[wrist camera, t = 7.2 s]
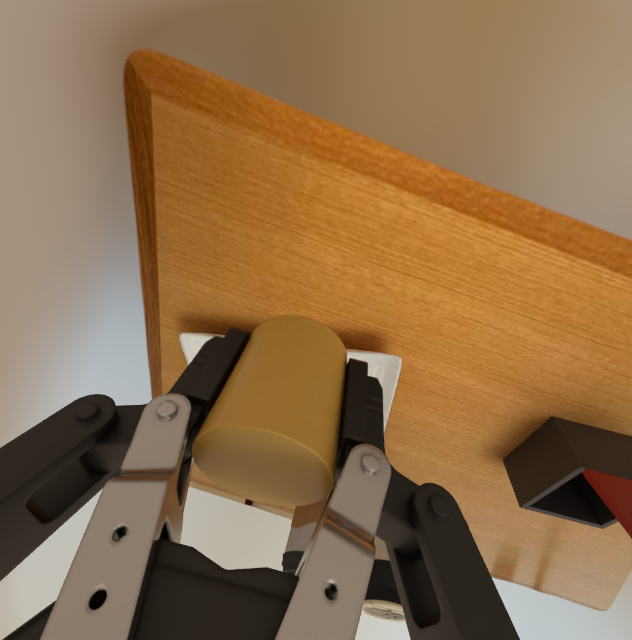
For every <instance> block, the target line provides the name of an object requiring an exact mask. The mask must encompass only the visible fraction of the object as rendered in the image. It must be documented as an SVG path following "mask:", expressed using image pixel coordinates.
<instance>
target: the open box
mask: <svg viewBox="0 0 632 640" xmlns="http://www.w3.org/2000/svg"><path fill="white" fill-rule="evenodd" d="M503 462H504V465H505V468H506V471H507V473H508V476H509V479H510V481H511V484H512V487H513V490H514V492H515V495H516V498H517V501H518V503H519V506H520V507H521V508H524V509H528V510H532V511H536V512H540V513H544V514H547V515H551V516H555V517H559V518H563V519H567V520H571V521H574V522H578V523H582V524H586V525H590V526H594V527H598V528H602V529H604V528H606V527H608V526H610V525H612V524H614V523H616V522H619V521H618V520H617V518H616V517H615V516H614V514H613V513H612V512H611V511H610V509H609V508H608V507H607V505H606V504H605V503H604V501H603V500H602V499H601V497H600V496H599V495H598V493H597V492H596V491H595V490H594V488H593V487H592V486H591V484H590V483H589V482H588V480H587V479H586V478H585V476H584V475H583V474H582V472H583V471H584V470H585V469H590V470H594V471H598V472H602V473H606V474H610V475H614V476H617V477H621V478H625V479H629V480H632V437H630V436H626V435H622V434H618V433H614V432H610V431H607V430H603V429H599V428H595V427H591V426H587V425H583V424H579V423H575V422H571V421H567V420H564V419H560V418H556V417H551V418H550V419H549V420H548V421H547V422H546V423H545V424H543V425H542V426H541V427H540V428H539V429H538V430H537V431H535V432H534V433H533V434H532V435H531V436H530V437H529V438H527V439H526V440H525V441H524V442H523V443H522V444H521V445H519V446H518V447H517V448H516V449H515V450H514V451H513V452H511V453H510V454H509V455H508V456H507V457H506V458H505V459H504V460H503Z"/></svg>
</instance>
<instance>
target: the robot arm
mask: <svg viewBox="0 0 632 640" xmlns="http://www.w3.org/2000/svg"><path fill="white" fill-rule="evenodd" d="M249 339H250V331H246V330H242V329H239V328H235V327H231V328H230V329H229V331H228V332H227V334H226V335H225V337H224V338H223V337H219V336H215V337H213V338H211V339H210V340H208V341H207V342H205V343H204V344H203V346H202V347H201V349H200V350H199V351H198V354H196V355H195V357H194V358H193V360H192V362H190V364H189V365H188V366H187V368H186V369H185V371H184V372H183V373H182V375H181V376H180V377H179V379H178V380H177V382H176V383H175V384H174V386H173V387H172V388H171V390H170V391H169V392H168V393H167V394H164V395H160V396H158V397H156V398H154V399H153V400H151V401H150V402H149V403H148V404H144V405H127V406H126V405H124V406H116V405H115V402H114V401H113V399H112V398H110V397H108V396H106V395H101V394H94V395H88V396H85V397H81V398H79V399H77V400H75V401H73V402H72V403H70V404H69V405H67V406H66V407H64V408H63V409H61V410H59V411H58V412H56V413H54V414H53V415H51V416H50V417H48V418H47V419H45V420H43V421H42V422H40V423H39V424H37V425H36V426H34V427H32V428H31V429H29V430H28V431H26V432H25V433H23V434H21V435H20V436H18V437H17V438H15V439H14V440H12V441H11V442H9V443H7V444H6V445H4V446H3V447H1V448H0V581H1V580H2V579H3V578H4V577H5V576H7V575H8V574H9V573H10V572H11V571H12V570H13V569H14V568H15V567H16V566H17V565H19V564H20V563H21V562H22V561H23V560H24V559H25V558H26V557H27V556H29V555H30V554H31V553H32V552H33V551H34V550H35V549H36V548H37V547H39V545H41V544H42V543H43V542H44V541H45V540H46V539H47V538H48V537H49V536H51V535H52V534H53V533H54V532H55V531H56V530H57V529H58V528H59V527H60V526H62V525H63V524H64V523H65V522H66V521H67V520H68V519H69V518H70V517H71V516H73V515H74V514H75V513H76V512H77V511H78V510H79V509H80V508H81V507H83V506H84V505H85V504H86V503H87V502H88V501H89V500H90V499H91V498H92V497H93V496H95V495H96V494H97V493H98V492H99V491H100V490H101V489H102V488H103V487H104V488H103V490H102V493H101V495H100V497H99V500H98V502H97V504H96V507H95V509H94V511H93V514H92V516H91V519H90V521H89V524H88V526H87V528H86V531H85V533H84V536H83V538H82V540H81V543H80V545H79V547H78V550H77V552H76V555H75V557H74V560H73V562H72V564H71V567H70V569H69V572H68V574H67V576H66V579H65V581H64V584H63V586H62V588H61V590H60V593H59V595H58V598H57V600H56V601H54V602H53V603H52V604H50V605H49V606H48V607H46V608H45V609H44V610H42V611H41V612H39V613H38V614H37V615H35V616H34V617H32V618H31V619H30V620H28V621H27V622H26V623H24V624H23V625H22V626H20V627H19V628H17V629H16V630H15V631H13V632H12V633H11V634H9V635H8V636H7V637H5V638H4V639H3V640H355V636H356V632H357V627H358V624H359V620H360V615H361V611H362V607H363V603H364V599H365V595H366V591H367V587H368V583H369V579H370V575H371V571H372V567H373V563H374V558H375V552H376V546H375V544H374V539H375V535H376V536H377V537H378V538H380V539H381V540H383V541H384V542H385V544H386V548H387V552H388V556H389V559H390V563H391V567H392V571H393V574H394V578H395V582H396V586H397V590H398V593H399V597H400V601H401V605H402V608H403V612H404V616H405V620H406V623H407V627H408V631H409V635H410V638H411V640H520V639H519V636H518V634H517V632H516V630H515V628H514V625H513V623H512V621H511V619H510V617H509V615H508V612H507V610H506V609H505V606H504V604H503V602H502V599H501V597H500V595H499V593H498V591H497V589H496V587H495V584H494V582H493V580H492V578H491V576H490V573H489V571H488V569H487V567H486V565H485V563H484V560H483V558H482V556H481V554H480V552H479V549H478V547H477V545H476V543H475V541H474V539H473V536H472V534H471V532H470V530H469V528H468V526H467V523H466V521H465V519H464V517H463V515H462V513H461V510H460V508H459V506H458V504H457V502H456V501H455V499H454V498H453V496H452V495H451V494H450V493H449V492H448V491H447V490H445V489H444V488H443V487H441V486H439V485H437V484H434V483H424V484H422V485H421V486H419V485H417V484H415V483H414V482H412V481H411V480H409V479H407V478H406V477H404V476H403V475H401V474H400V473H398V472H397V471H396V470H395V469H394V468H393V467H392V465H391V464H390V462H389V460H388V458H387V457H386V454H385V449H384V415H383V389H382V387H381V384H380V382H379V380H378V378H375V377H371V376H368V362H365V361H361V360H357V359H353V358H350V359H349V361H348V364H347V370H346V379H345V388H344V397H343V406H342V415H341V424H340V433H339V442H338V452H337V461H336V470H335V479H334V485H333V488H332V490H331V492H330V493H329V496H328V498H327V501H326V503H325V505H324V508H323V510H322V513H321V515H320V517H319V520H318V522H317V524H316V527H315V529H314V532H313V534H312V536H311V539H310V541H309V544H308V546H307V548H306V550H305V553H304V555H303V557H302V559H301V561H300V564H299V566H298V568H297V571H296V573H295V575H293V574H289V573H286V572H282V571H278V570H274V569H271V568H267V567H265V568H251V569H235V570H226V569H224V568H222V567H220V566H219V565H217V564H216V563H215V562H213V561H212V560H210V559H209V558H207V557H206V556H205V555H203V554H202V553H200V552H199V551H197V550H196V549H195V548H193V547H190V546H186V545H183V544H180V539H181V533H182V525H183V512H184V506H185V501H186V496H187V492H188V487H189V482H190V477H191V473H192V468H193V463H194V459H193V456H192V445H193V442H194V440H195V438H196V436H197V434H198V433H199V431H200V429H201V427H202V425H203V423H204V422H205V420H206V418H207V416H208V414H209V412H210V411H211V409H212V407H213V405H214V403H215V401H216V400H217V398H218V396H219V394H220V392H221V390H222V389H223V387H224V385H225V383H226V381H227V379H228V378H229V376H230V374H231V372H232V370H233V368H234V367H235V365H236V363H237V361H238V359H239V357H240V356H241V354H242V352H243V350H244V348H245V346H246V345H247V343H248V341H249Z"/></svg>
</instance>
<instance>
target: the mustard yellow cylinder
mask: <svg viewBox="0 0 632 640" xmlns="http://www.w3.org/2000/svg"><path fill="white" fill-rule="evenodd" d="M346 370H347V352H346V349H345V347H344V345H343V343H342V341H341V340H340V338H339V337H338V336H337V335H336V334H335V332H333V331H332V330H331V329H330V328H329V327H327V326H326V325H324V324H322V323H320V322H318V321H316V320H314V319H311V318H308V317H304V316H298V315H282V316H277V317H273V318H270V319H268V320H266V321H264V322H263V323H261V324H260V325H259V326H258V327H257V328H256V329H255V331H254V332H253V334H252V335H251V337H250V339H249V341H248V343H247V345H246V346H245V348H244V350H243V352H242V354H241V356H240V357H239V359H238V361H237V363H236V365H235V367H234V368H233V370H232V372H231V374H230V376H229V378H228V379H227V381H226V383H225V385H224V387H223V389H222V390H221V392H220V394H219V396H218V398H217V400H216V401H215V403H214V405H213V407H212V409H211V411H210V412H209V414H208V416H207V418H206V420H205V422H204V423H203V425H202V427H201V429H200V431H199V433H198V434H197V436H196V438H195V440H194V442H193V445H192V456H193V459H194V461H195V463H196V465H197V466H198V467H199V469H200V470H201V471H202V472H203V473H204V474H205V475H206V476H207V477H208V478H209V479H211V480H212V481H213V482H215V483H216V484H218V485H219V486H221V487H222V488H224V489H226V490H228V491H230V492H232V493H234V494H236V495H239V496H241V497H244V498H247V499H250V500H253V501H257V502H261V503H265V504H271V505H279V506H302V505H308V504H312V503H315V502H318V501H320V500H322V499H324V498H325V497H326V496H327V495H328V494H329V493H330V492H331V490H332V488H333V485H334V479H335V470H336V461H337V452H338V442H339V433H340V424H341V415H342V406H343V397H344V388H345V379H346Z"/></svg>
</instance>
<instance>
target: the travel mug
mask: <svg viewBox="0 0 632 640" xmlns="http://www.w3.org/2000/svg"><path fill="white" fill-rule="evenodd" d="M374 544H375V546H376V552H375V558H374V563H373V567H372V571H371V575H370V579H369V583H368V587H367V591H366V595H365V599H364V603H363V607H362V612H364V613H366V614H368V615H370V616H373V617H377V618H380V619H385V620H391V621H406V620H405V616H404V612H403V608H402V605H401V601H400V597H399V593H398V590H397V586H396V582H395V578H394V574H393V571H392V567H391V563H390V559H389V556H388V552H387V548H386V544H385V542H384V541H383V540H381V539H380V538H378V537H377V536H376V535H375V539H374Z"/></svg>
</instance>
